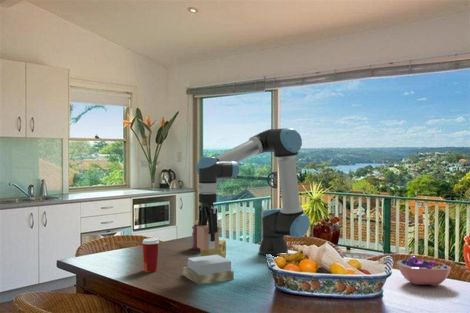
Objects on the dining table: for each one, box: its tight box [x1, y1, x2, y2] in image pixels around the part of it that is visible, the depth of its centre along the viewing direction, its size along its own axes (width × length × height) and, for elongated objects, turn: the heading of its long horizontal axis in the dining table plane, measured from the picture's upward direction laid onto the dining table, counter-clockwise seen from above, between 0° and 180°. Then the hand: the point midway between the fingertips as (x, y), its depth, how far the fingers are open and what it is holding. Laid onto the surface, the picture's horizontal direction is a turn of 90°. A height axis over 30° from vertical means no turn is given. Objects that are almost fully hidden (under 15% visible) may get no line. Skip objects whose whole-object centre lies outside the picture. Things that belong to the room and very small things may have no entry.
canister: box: [191, 219, 208, 252], centre depth 250 cm, size 13×13×18 cm
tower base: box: [182, 266, 235, 286], centre depth 193 cm, size 16×16×4 cm
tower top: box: [187, 255, 232, 275], centre depth 193 cm, size 14×14×4 cm
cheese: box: [199, 239, 227, 259], centre depth 219 cm, size 10×11×10 cm
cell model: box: [396, 255, 452, 287], centre depth 181 cm, size 17×20×11 cm
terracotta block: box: [197, 225, 220, 250], centre depth 193 cm, size 7×7×9 cm
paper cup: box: [141, 237, 160, 273], centre depth 204 cm, size 8×8×14 cm
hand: (207, 247), depth 193 cm, fingers closed on terracotta block, 7 cm apart
